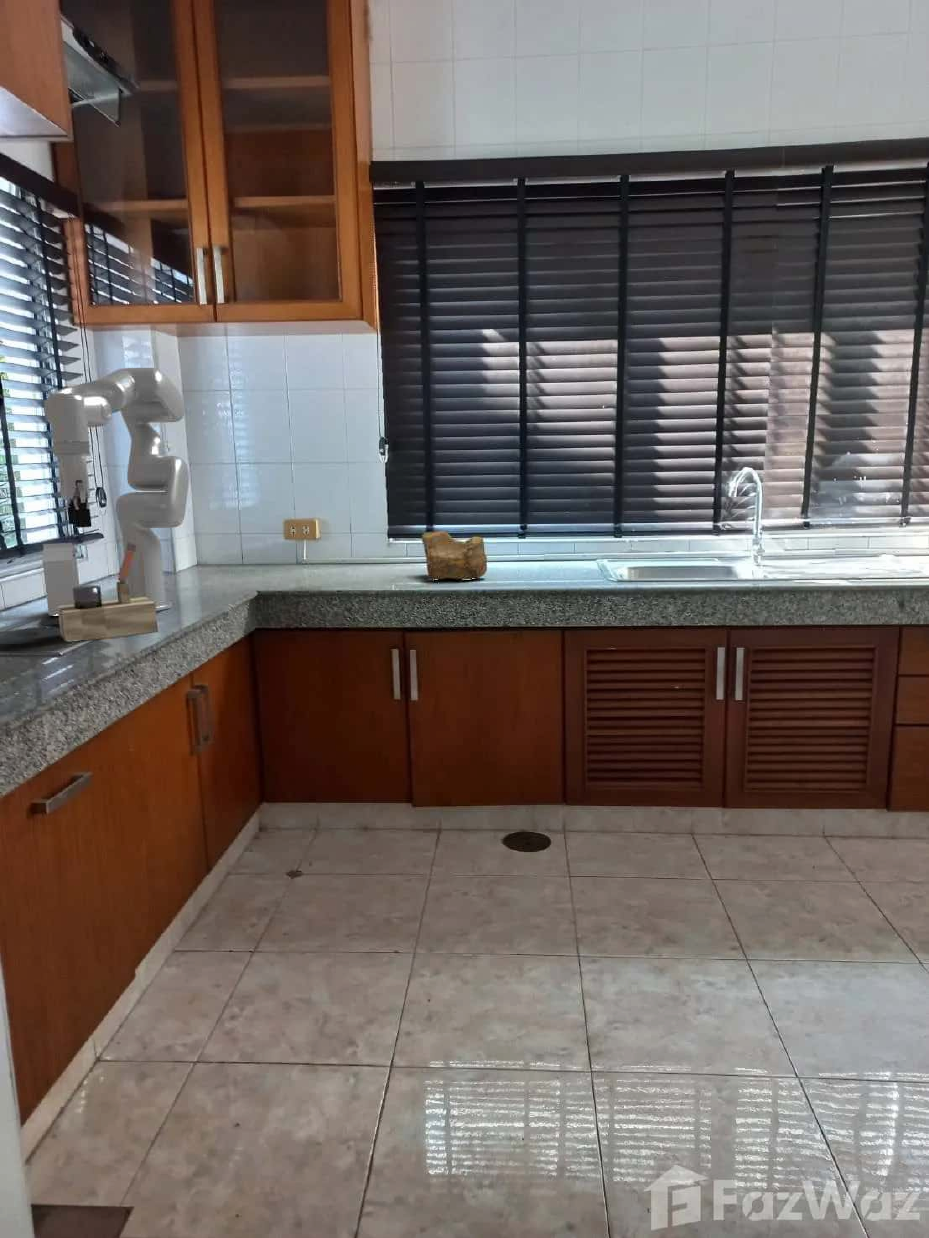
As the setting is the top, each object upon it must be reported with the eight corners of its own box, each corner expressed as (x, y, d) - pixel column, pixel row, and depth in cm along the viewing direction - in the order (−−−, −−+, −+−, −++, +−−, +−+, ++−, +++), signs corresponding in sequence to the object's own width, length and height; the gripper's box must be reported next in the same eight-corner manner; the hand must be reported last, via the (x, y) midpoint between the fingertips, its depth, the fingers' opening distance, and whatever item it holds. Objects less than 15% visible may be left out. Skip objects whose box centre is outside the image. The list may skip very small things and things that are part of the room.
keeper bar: (127, 542, 202) (132, 543, 203) (117, 580, 202) (122, 581, 203) (132, 543, 198) (136, 545, 199) (121, 582, 199) (126, 583, 199)
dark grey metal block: (75, 632, 200) (70, 587, 198) (102, 629, 203) (97, 584, 201) (79, 637, 195) (74, 590, 193) (107, 634, 198) (102, 587, 196)
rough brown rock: (403, 583, 273) (401, 537, 269) (430, 571, 287) (429, 528, 282) (465, 590, 262) (464, 543, 257) (490, 578, 275) (490, 533, 271)
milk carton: (78, 616, 222) (70, 544, 219) (49, 617, 221) (40, 545, 217) (82, 611, 229) (74, 541, 225) (53, 612, 227) (45, 542, 223)
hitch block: (60, 635, 200) (55, 586, 198) (148, 624, 211) (143, 577, 208) (67, 643, 192) (61, 592, 189) (157, 631, 202) (153, 583, 200)
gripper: (48, 450, 195) (56, 523, 199) (59, 450, 181) (68, 529, 185) (83, 449, 199) (90, 521, 203) (96, 449, 185) (104, 527, 189)
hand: (80, 525), depth 194 cm, fingers open, 9 cm apart
